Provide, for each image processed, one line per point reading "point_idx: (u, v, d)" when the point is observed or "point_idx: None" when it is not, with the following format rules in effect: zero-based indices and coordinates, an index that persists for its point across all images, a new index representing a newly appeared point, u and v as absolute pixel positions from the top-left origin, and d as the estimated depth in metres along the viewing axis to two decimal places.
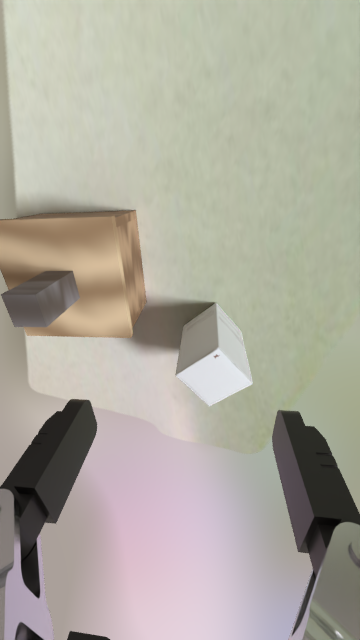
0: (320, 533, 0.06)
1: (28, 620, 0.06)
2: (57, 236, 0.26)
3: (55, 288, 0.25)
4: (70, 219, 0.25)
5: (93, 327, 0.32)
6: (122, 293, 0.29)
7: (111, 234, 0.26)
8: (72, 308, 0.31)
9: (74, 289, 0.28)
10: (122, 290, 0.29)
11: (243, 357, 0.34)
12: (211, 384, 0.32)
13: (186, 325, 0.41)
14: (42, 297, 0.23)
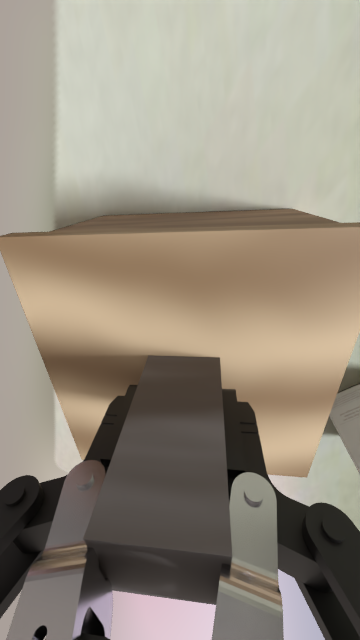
0: (229, 483, 0.08)
1: (95, 605, 0.06)
2: (204, 279, 0.10)
3: None
4: (259, 234, 0.09)
5: None
6: (329, 405, 0.12)
7: None
8: None
9: None
10: (332, 400, 0.12)
11: None
12: None
13: None
14: None
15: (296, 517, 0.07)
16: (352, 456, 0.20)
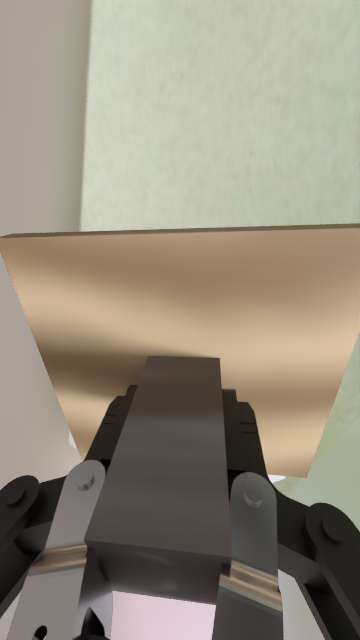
0: (229, 483, 0.08)
1: (95, 605, 0.06)
2: (204, 280, 0.10)
3: None
4: (258, 235, 0.09)
5: None
6: (328, 406, 0.12)
7: None
8: None
9: None
10: (331, 400, 0.12)
11: None
12: None
13: None
14: None
15: (296, 517, 0.07)
16: None
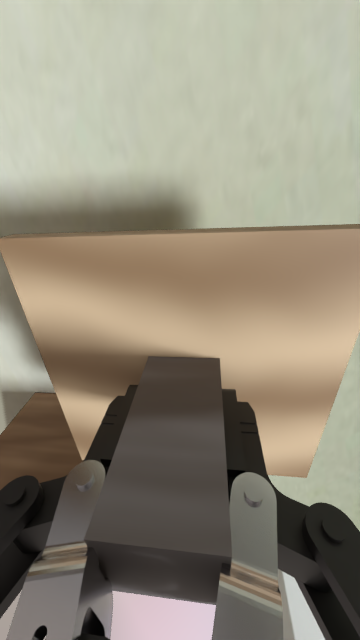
0: (229, 483, 0.08)
1: (95, 605, 0.06)
2: (204, 280, 0.10)
3: None
4: (258, 235, 0.09)
5: None
6: (328, 406, 0.12)
7: None
8: None
9: None
10: (331, 401, 0.12)
11: None
12: None
13: None
14: None
15: (296, 517, 0.07)
16: None
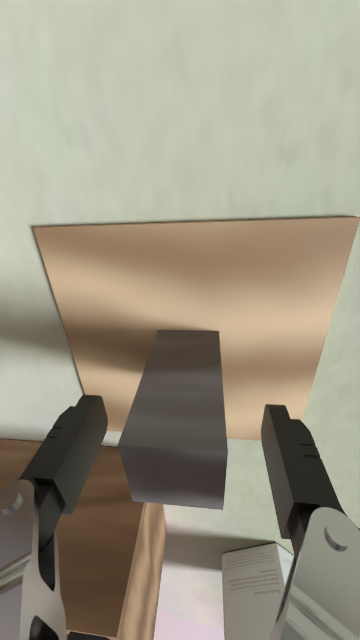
0: (299, 518, 0.07)
1: (43, 613, 0.06)
2: (206, 262, 0.12)
3: None
4: (250, 224, 0.11)
5: (227, 424, 0.17)
6: (312, 373, 0.14)
7: (340, 259, 0.11)
8: None
9: None
10: (314, 368, 0.14)
11: None
12: None
13: (226, 560, 0.27)
14: None
15: None
16: (225, 639, 0.23)
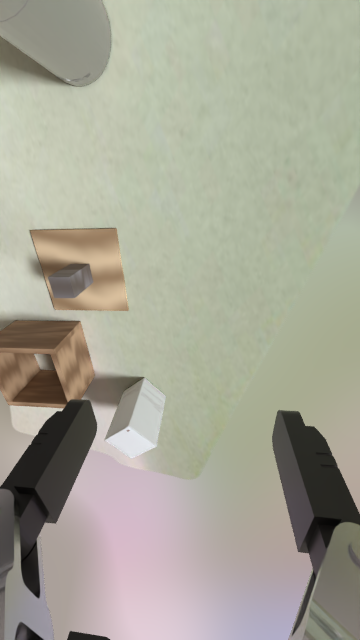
0: (320, 533, 0.06)
1: (28, 620, 0.06)
2: (80, 241, 0.40)
3: (79, 274, 0.39)
4: (89, 230, 0.39)
5: (102, 303, 0.46)
6: (122, 279, 0.43)
7: (115, 240, 0.40)
8: (87, 289, 0.45)
9: (90, 276, 0.43)
10: (122, 277, 0.43)
11: (155, 424, 0.48)
12: (129, 446, 0.46)
13: (124, 391, 0.56)
14: (72, 279, 0.37)
15: None
16: (115, 412, 0.52)
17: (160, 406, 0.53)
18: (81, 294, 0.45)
